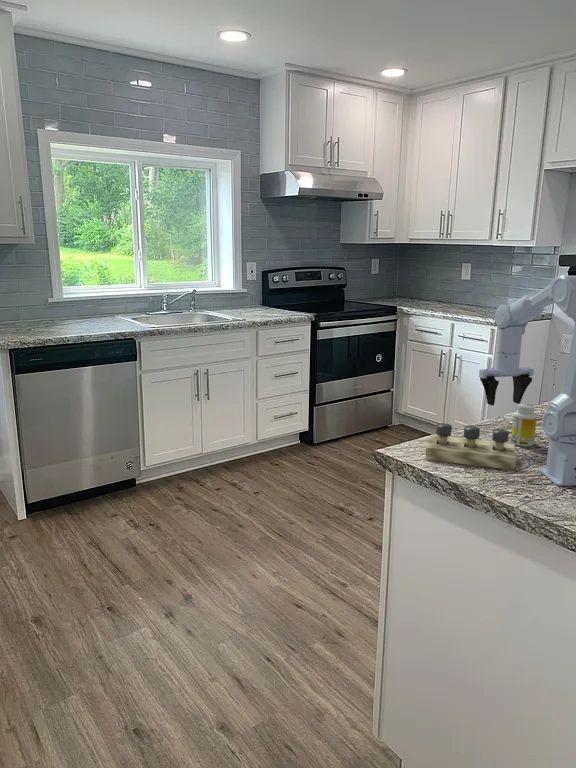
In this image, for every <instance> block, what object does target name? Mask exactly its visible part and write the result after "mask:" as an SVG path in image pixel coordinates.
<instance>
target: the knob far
mask: <svg viewBox="0 0 576 768" xmlns="http://www.w3.org/2000/svg"><path fill="white" fill-rule="evenodd" d="M452 427H453V426H452V424H449V423H445V422H443V423H442V422H440V423H437V424H436V428H435V435H436V436H439V444H442V445H447V438H448V437H452V431H453V430H452V429H453V428H452Z"/></svg>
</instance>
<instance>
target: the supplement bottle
mask: <svg viewBox="0 0 576 768" xmlns="http://www.w3.org/2000/svg"><path fill="white" fill-rule="evenodd" d="M537 418H538V417H537V414H536V413H535V406H534V405H532V404H527V403H520V404H518V405H517V409H516V411H514V412H513V416H512V426H511V427H512V428H511V436H510V437H511V438H510V441H511V444H514V446H519V447H532V446H533V445H534V444H535V439H536V438H535V436H536V428H537Z"/></svg>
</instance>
